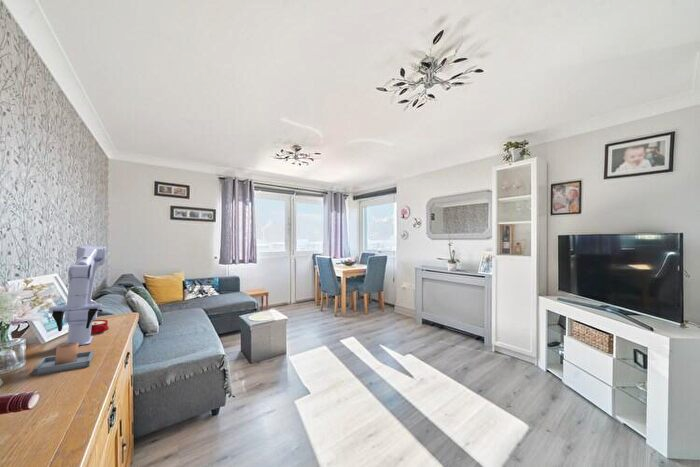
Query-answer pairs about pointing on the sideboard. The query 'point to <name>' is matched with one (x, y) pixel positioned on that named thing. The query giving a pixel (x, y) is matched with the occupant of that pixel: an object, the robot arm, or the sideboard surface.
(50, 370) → the tray
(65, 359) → the cup
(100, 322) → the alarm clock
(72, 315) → the robot arm
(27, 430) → the sideboard surface
